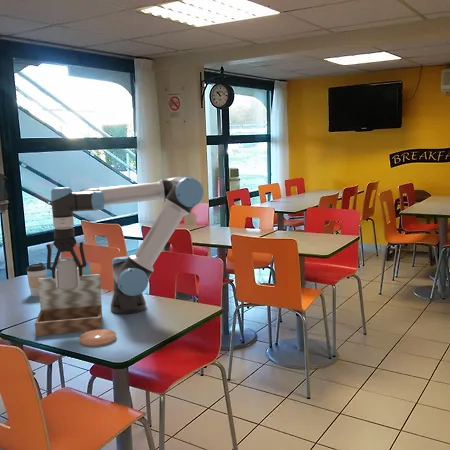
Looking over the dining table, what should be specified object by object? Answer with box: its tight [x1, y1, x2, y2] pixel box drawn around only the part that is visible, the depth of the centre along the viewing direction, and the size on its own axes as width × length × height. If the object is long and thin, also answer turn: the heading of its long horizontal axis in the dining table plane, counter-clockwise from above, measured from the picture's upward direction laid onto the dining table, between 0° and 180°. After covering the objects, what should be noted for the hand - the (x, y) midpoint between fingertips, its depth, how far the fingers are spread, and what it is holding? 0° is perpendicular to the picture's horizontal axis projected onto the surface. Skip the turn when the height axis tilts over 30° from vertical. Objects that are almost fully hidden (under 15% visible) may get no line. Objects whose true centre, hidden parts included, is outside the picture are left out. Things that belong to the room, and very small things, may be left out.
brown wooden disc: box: [78, 328, 117, 347], centre depth 184 cm, size 13×13×2 cm
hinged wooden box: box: [34, 273, 103, 337], centre depth 198 cm, size 24×17×18 cm
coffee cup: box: [25, 262, 47, 297], centre depth 243 cm, size 9×9×15 cm
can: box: [56, 256, 78, 290], centre depth 196 cm, size 8×8×12 cm
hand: (68, 285), depth 197 cm, fingers closed on can, 7 cm apart
